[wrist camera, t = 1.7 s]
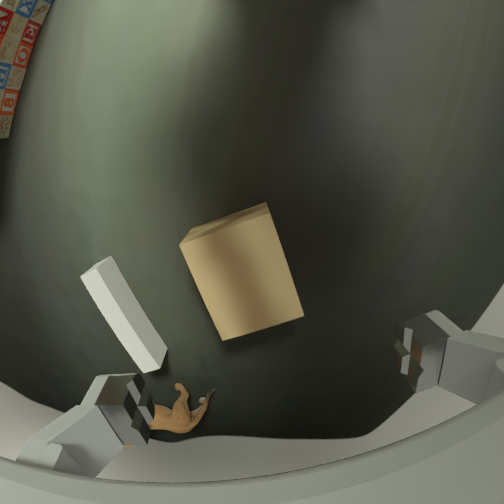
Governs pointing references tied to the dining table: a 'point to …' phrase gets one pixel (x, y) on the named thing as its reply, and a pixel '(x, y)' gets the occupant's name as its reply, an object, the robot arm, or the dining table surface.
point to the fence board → (125, 314)
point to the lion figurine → (178, 414)
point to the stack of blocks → (16, 50)
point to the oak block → (242, 272)
